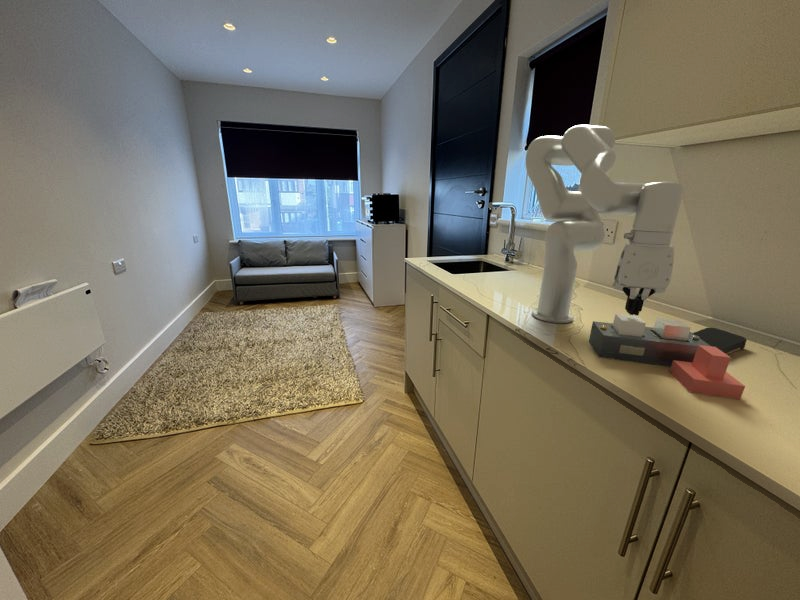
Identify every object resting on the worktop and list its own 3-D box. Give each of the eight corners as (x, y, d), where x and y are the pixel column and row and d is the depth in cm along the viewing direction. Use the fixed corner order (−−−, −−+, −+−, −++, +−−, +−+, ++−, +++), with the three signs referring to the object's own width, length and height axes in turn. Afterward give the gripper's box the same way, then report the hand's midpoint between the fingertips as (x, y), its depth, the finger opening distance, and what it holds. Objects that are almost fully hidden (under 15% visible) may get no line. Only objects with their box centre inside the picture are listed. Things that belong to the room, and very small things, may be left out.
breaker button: (612, 328, 84) (615, 313, 82) (633, 330, 82) (637, 316, 81) (618, 335, 79) (622, 320, 78) (641, 338, 78) (645, 322, 76)
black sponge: (706, 337, 93) (710, 326, 91) (746, 349, 85) (750, 337, 84) (676, 348, 86) (679, 335, 85) (716, 362, 79) (720, 348, 78)
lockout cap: (669, 371, 73) (679, 340, 71) (714, 377, 71) (725, 345, 68) (689, 391, 65) (701, 357, 63) (740, 399, 63) (754, 363, 61)
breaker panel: (588, 341, 89) (595, 309, 86) (682, 352, 83) (693, 318, 80) (599, 357, 79) (607, 322, 76) (706, 371, 73) (719, 334, 70)
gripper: (618, 239, 72) (602, 315, 77) (698, 242, 68) (675, 322, 73) (608, 236, 79) (594, 306, 84) (680, 238, 75) (660, 311, 80)
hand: (632, 313), depth 79 cm, fingers closed
